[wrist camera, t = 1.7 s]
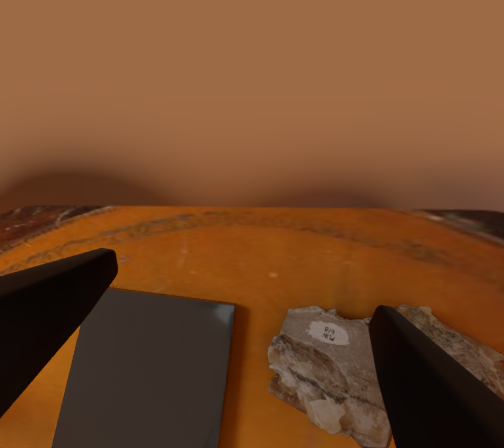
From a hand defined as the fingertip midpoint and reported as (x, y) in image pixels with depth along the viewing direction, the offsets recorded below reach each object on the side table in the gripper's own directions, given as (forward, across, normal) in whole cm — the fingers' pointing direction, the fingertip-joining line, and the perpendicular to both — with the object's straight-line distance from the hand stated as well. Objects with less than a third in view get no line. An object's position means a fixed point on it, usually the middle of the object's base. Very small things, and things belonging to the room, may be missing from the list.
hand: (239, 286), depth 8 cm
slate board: (+5, +7, +19) cm, 21 cm away
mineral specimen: (+9, -11, +13) cm, 19 cm away
